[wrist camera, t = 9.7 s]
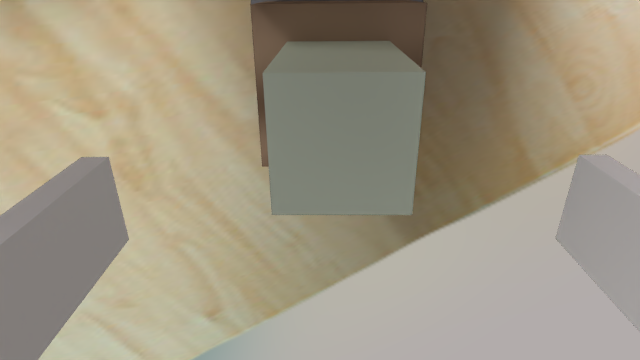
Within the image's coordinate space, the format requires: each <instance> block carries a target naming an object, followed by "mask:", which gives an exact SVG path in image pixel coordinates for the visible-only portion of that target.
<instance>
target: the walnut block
mask: <svg viewBox="0 0 640 360" xmlns="http://www.w3.org/2000/svg"><path fill="white" fill-rule="evenodd" d="M250 5H251V18H252V32H253V46H254V60H255V74H256V87H257V101H258V115H259V129H260V142H261V156H262V166H269V163H268V148H267V133H266V117H265V102H264V87H263V72H264V71H265V69H266V68H267V67H268V65H269V64H270V63H271V62H272V60H273V59H274V58H275V56H276V55H277V54H278V53H279V51H280V50H281V49H282V47H283V46H284V45H285V44H286V42H289V41H390V42H391V43H393V44H394V45H395V46H396V47H397V48H398V49H400V50H401V51H402V52H403V53H404V54H405V55H407V56H408V57H409V58H410V59H411V60H412V61H414V62H415V63H416V64H417V65H418V66H419V67H421V65H422V55H423V44H424V33H425V22H426V11H427V3H425V2H418V1H411V0H370V1H265V2H260V3H255V4H250Z"/></svg>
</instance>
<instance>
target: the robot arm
mask: <svg viewBox="0 0 640 360" xmlns="http://www.w3.org/2000/svg"><path fill="white" fill-rule="evenodd" d="M128 240H129V238H128V234H127V230H126V226H125V222H124V217H123V213H122V209H121V205H120V201H119V197H118V193H117V189H116V185H115V181H114V177H113V173H112V169H111V165H110V161H109V157H81V158H80V159H78V160H77V161H75V162H74V163H73V164H71V165H70V166H69V167H67V168H66V169H64V170H63V171H62V172H60V173H59V174H57V175H56V176H55V177H53V178H52V179H51V180H49V181H48V182H46V183H45V184H44V185H42V186H41V187H39V188H38V189H37V190H35V191H34V192H32V193H31V194H30V195H28V196H27V197H26V198H24V199H23V200H21V201H20V202H19V203H17V204H16V205H14V206H13V207H12V208H10V209H9V210H8V211H6V212H5V213H3V214H2V215H1V216H0V360H38V359H39V357H40V356H41V355H42V353H43V352H44V351H45V349H46V348H47V347H48V345H49V344H50V343H51V341H52V340H53V339H54V338H55V336H56V335H57V334H58V332H59V331H60V330H61V328H62V327H63V326H64V324H65V323H66V322H67V320H68V319H69V318H70V316H71V315H72V314H73V312H74V311H75V310H76V309H77V307H78V306H79V305H80V303H81V302H82V301H83V299H84V298H85V297H86V295H87V294H88V293H89V291H90V290H91V289H92V287H93V286H94V285H95V283H96V282H97V281H98V280H99V278H100V277H101V276H102V274H103V273H104V272H105V270H106V269H107V268H108V266H109V265H110V264H111V262H112V261H113V260H114V258H115V257H116V256H117V254H118V253H119V252H120V251H121V249H122V248H123V247H124V245H125V244H126V243H127V241H128ZM556 240H557V241H558V242H559V243H560V244H561V245H562V246H563V247H564V249H565V250H566V251H567V252H568V253H569V254H570V255H571V256H572V257H573V258H574V259H575V261H576V262H577V263H578V264H579V265H580V266H581V267H582V268H583V270H584V271H585V272H586V273H587V274H588V275H589V276H590V277H591V278H592V279H593V281H594V282H595V283H596V284H597V285H598V286H599V287H600V288H601V290H602V291H603V292H604V293H605V294H606V295H607V296H608V297H609V298H610V300H611V301H612V302H613V303H614V304H615V305H616V306H617V307H618V308H619V310H620V311H621V312H622V313H623V314H624V315H625V316H626V317H627V318H628V320H629V321H630V322H631V323H632V324H633V325H634V326H635V327H636V328H637V329H638V331H639V332H640V175H639V174H637V173H636V172H634V171H633V170H631V169H629V168H628V167H626V166H624V165H623V164H621V163H620V162H618V161H616V160H615V159H613V158H611V157H610V156H608V155H579V157H578V160H577V164H576V167H575V171H574V175H573V178H572V182H571V185H570V189H569V192H568V196H567V199H566V203H565V207H564V210H563V214H562V217H561V221H560V224H559V228H558V232H557V235H556Z"/></svg>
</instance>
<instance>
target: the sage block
mask: <svg viewBox="0 0 640 360" xmlns="http://www.w3.org/2000/svg"><path fill="white" fill-rule="evenodd" d="M425 77H426V72H425V71H424V70H423V69H422V68H421V67H419V66H418V65H417V64H416V63H415V62H414V61H412V60H411V59H410V58H409V57H408V56H407V55H405V54H404V53H403V52H402V51H401V50H400V49H398V48H397V47H396V46H395V45H394V44H393V43H391V42H390V41H289V42H286V44H285V45H284V46H283V47H282V49H281V50H280V51H279V53H278V54H277V55H276V56H275V58H274V59H273V60H272V62H271V63H270V64H269V65H268V67H267V68H266V69H265V71H264V72H263V87H264V102H265V117H266V133H267V148H268V163H269V178H270V193H271V209H272V215H412V211H413V201H414V190H415V180H416V170H417V159H418V149H419V139H420V128H421V118H422V108H423V97H424V87H425Z"/></svg>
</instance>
